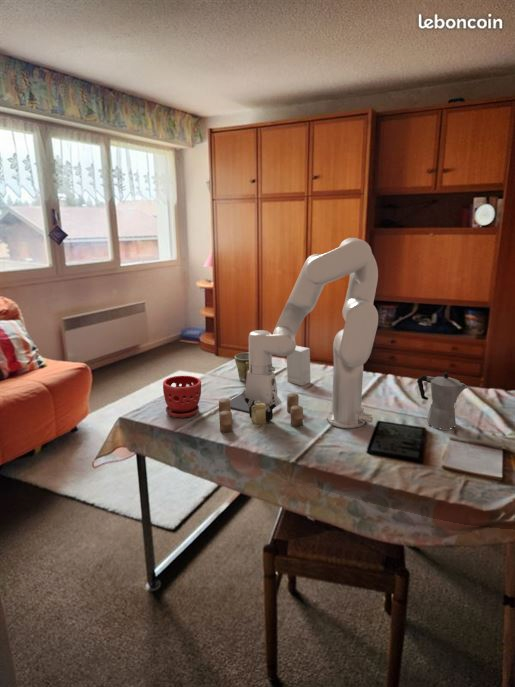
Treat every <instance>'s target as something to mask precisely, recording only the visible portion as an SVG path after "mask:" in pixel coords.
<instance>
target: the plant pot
mask: <svg viewBox="0 0 515 687" xmlns="http://www.w3.org/2000/svg"><path fill="white" fill-rule="evenodd" d="M173 384H175V386H172V385H173ZM187 385H189V386H187ZM162 392H163V396H164V401H165V403H166V407H165V412H166V414H168V416H171V417H174V418H180V419H181V418H188V417H192V416H194V415H195V414H197V413H198V411H199V409H200V406H199V403H200V400H201V394H202V380H201V379H200V378H198V377H196V376H192V375H175V376H170V377H168V378H166V379H164V380H163V383H162Z"/></svg>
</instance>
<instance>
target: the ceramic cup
mask: <svg viewBox="0 0 515 687" xmlns="http://www.w3.org/2000/svg"><path fill="white" fill-rule="evenodd" d="M234 361H235V365H236V367H237V368H236V369H237V373H238V378H239V381H244V382H246V377H247V372H248V370H249V352H240V353H237V354H235V355H234Z"/></svg>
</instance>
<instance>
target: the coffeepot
mask: <svg viewBox="0 0 515 687" xmlns="http://www.w3.org/2000/svg"><path fill="white" fill-rule="evenodd" d="M449 375H450V372H443V376H435V377H434V376H430V375H421V376H420V377H418V378H417V380H416V382H417V383H416V384H417V387H418V390H419V394H420V397H421V399H422V400H425V401H427V400H429V397H428V396H426V395H425V392H426V391H425V389H424V388H425V387H424V383H423V382H426V383H429V384H430V391H431V392H430V393H431V400H432V402H431V403H430V407H429V411H428V414H427V417H426V423H427V422H428V424H429V425H431V426H433V427H435V428H434V429H436V428H441V429H450V428H452V427H454V426H456V427H457V424H456V423H457V422H456V410H455V404H456V403H457V399H458V397H459V396H460V394H461V393H462V392H463V391H464V390H465V389H468V386H467V384H465V383H462V382H460V380H458V379H456V378H452V377H449ZM428 424H427V425H428ZM429 425H428V426H429ZM431 426H430V427H431ZM433 427H432V428H433Z"/></svg>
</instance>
